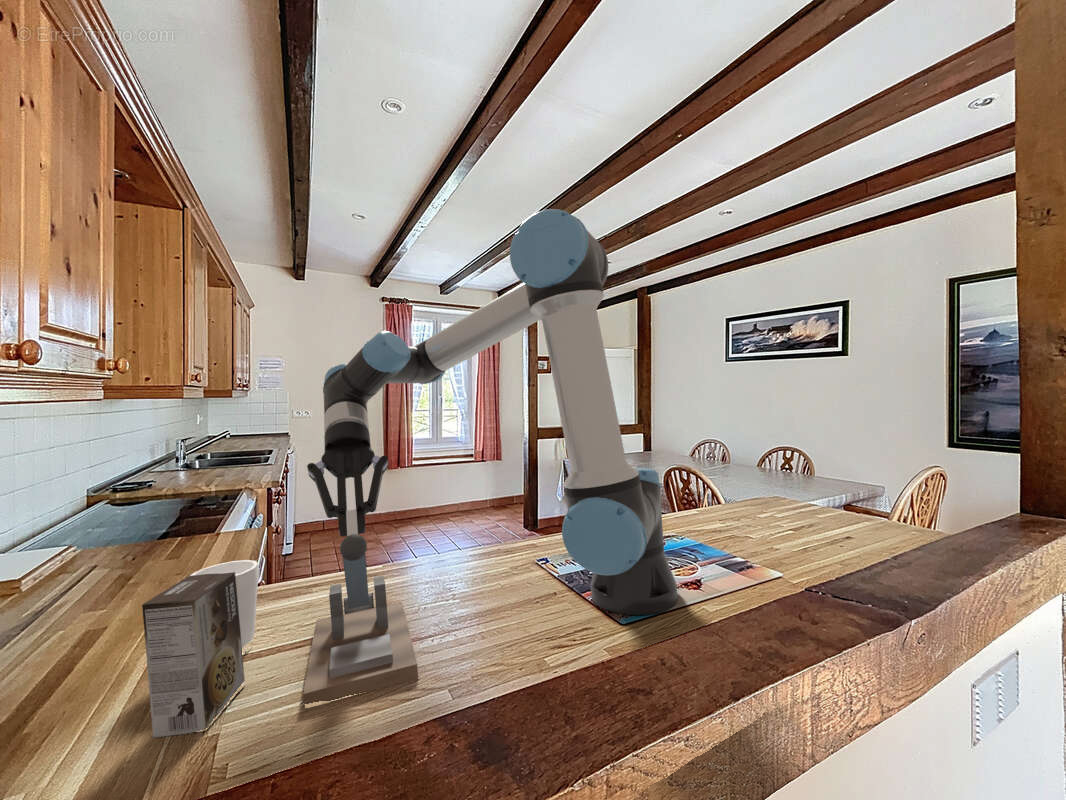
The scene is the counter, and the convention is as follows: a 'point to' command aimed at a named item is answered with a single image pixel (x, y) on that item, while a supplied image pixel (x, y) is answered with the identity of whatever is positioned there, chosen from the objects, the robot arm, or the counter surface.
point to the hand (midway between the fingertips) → (353, 552)
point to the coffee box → (192, 652)
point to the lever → (356, 574)
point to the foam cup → (241, 592)
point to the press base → (359, 649)
